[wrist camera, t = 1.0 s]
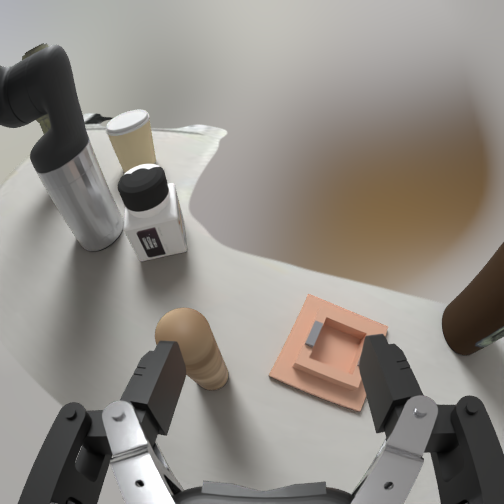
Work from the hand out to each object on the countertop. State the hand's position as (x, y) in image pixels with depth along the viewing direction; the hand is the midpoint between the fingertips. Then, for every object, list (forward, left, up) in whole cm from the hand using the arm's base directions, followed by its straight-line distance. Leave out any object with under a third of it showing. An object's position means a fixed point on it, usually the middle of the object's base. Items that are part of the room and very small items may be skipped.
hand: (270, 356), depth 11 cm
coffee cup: (-43, +28, -22) cm, 56 cm away
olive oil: (+26, +20, -22) cm, 39 cm away
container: (-24, +14, -22) cm, 36 cm away
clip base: (+6, +9, -21) cm, 24 cm away
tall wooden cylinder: (-6, 0, -21) cm, 22 cm away
